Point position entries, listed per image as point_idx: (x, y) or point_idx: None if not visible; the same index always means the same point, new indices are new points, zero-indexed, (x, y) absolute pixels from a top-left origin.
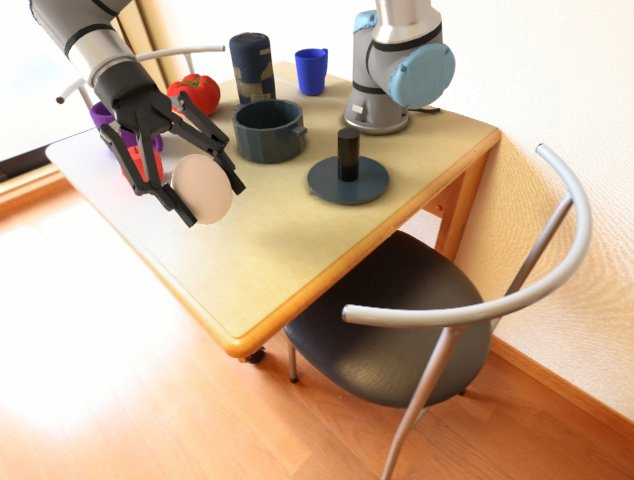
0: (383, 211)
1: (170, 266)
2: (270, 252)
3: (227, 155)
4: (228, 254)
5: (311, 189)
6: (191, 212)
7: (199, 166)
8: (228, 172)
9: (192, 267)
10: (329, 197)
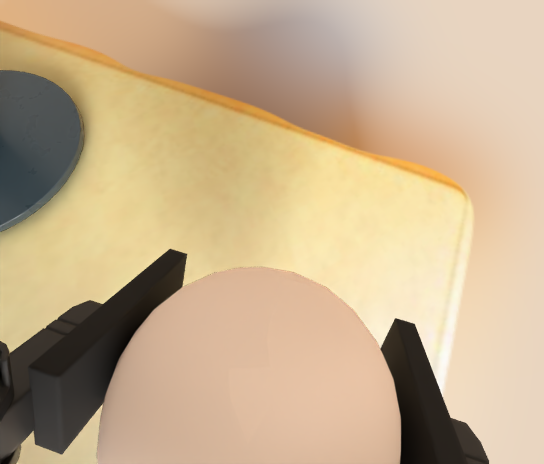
0: (94, 76)
1: None
2: (268, 224)
3: (18, 347)
4: None
5: (31, 210)
6: (403, 342)
7: (290, 332)
8: (138, 307)
9: None
10: (67, 159)
